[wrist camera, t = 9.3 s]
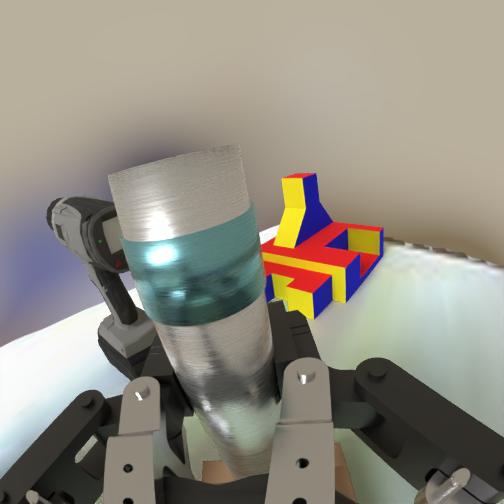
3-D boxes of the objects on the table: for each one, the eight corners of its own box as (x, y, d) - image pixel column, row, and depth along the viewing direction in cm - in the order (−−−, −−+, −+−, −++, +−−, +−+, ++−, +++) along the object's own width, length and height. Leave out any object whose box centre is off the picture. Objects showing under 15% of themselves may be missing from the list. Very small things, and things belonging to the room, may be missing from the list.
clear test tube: (236, 502, 11) (76, 185, 5) (235, 455, 14) (133, 168, 8) (299, 496, 11) (245, 142, 5) (292, 448, 14) (242, 143, 8)
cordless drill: (115, 318, 50) (71, 192, 40) (201, 369, 35) (141, 174, 26) (83, 339, 44) (31, 208, 35) (158, 405, 30) (69, 199, 20)
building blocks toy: (236, 295, 52) (215, 197, 46) (309, 245, 68) (300, 169, 62) (327, 325, 40) (320, 200, 33) (383, 257, 56) (381, 170, 49)
